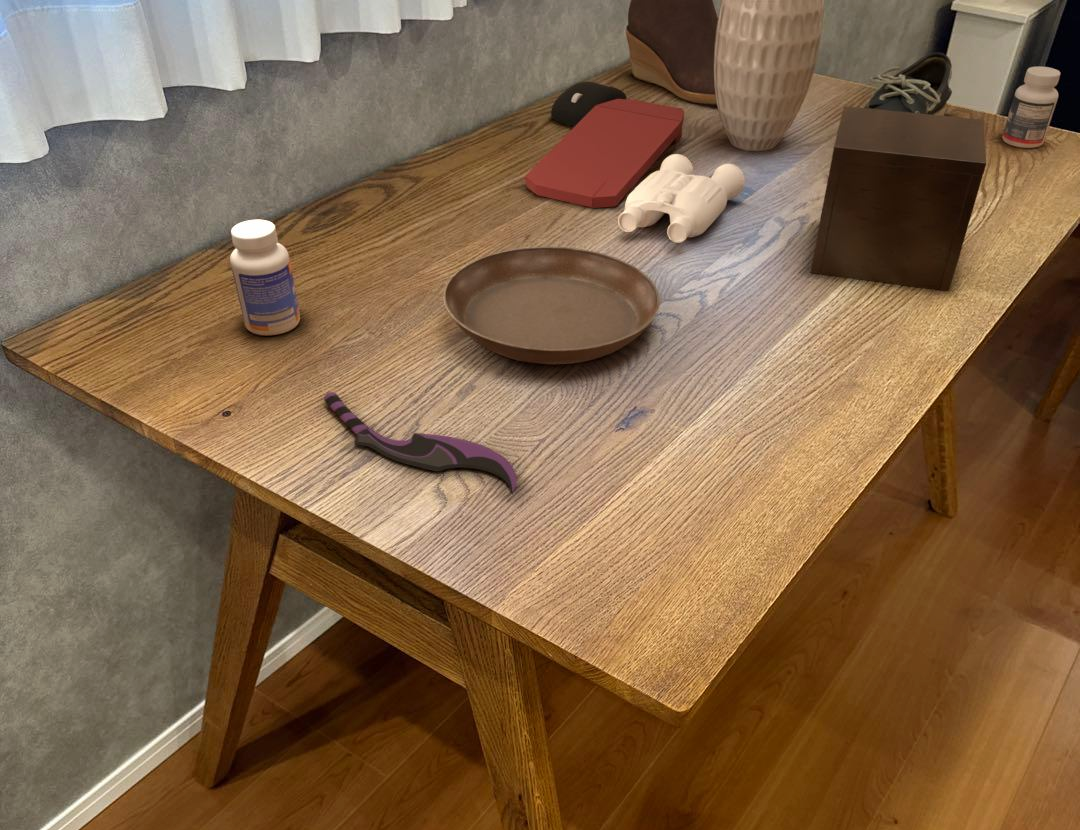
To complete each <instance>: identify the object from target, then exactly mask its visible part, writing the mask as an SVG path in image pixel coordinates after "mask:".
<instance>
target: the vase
mask: <svg viewBox="0 0 1080 830" xmlns="http://www.w3.org/2000/svg"><path fill="white" fill-rule="evenodd" d="M824 14H825V0H720V3H719V9H718V14H717V17H718V22H717V29H716V38H715V48H714V88H715V94H716V101H717V104H716V106H717V110H718V114H719V119H720V122H721V125H722V127H723V129H724V132H725V134H726V136H727V139H728V141H729V143H730V145H732V146H733V147H735V148H736V149H739V150H741V151H742V150H743V151H747V152H765V151H770V150H772V149H774V148H775V147H777V145H778V144H779V143H780V141H781V140H782V139H783V137H784V136H785V135H786V133H787V132H788V131H789V129H790V128H791V127H792V126H793V123H794V121H795V120H796V117H797V116H798V114H799V112H800V111H801V108H802V106H803V103H804V101H805V99H806V96H807V94H808V92H809V88H810V85H811V83H812V79H813V76H814V74H815V73H814V72H815V68H816V64H817V60H818V55H819V50H820V44H821V40H822V39H821V38H822V33H823V24H824Z"/></svg>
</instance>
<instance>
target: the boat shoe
mask: <svg viewBox="0 0 1080 830" xmlns="http://www.w3.org/2000/svg"><path fill="white" fill-rule="evenodd" d="M952 68H953V65H952V62H951V58H949V56H948V55H946V53H944V52H940V51H939V52H938V51H937V52H936V51H934V52H930V53H928V54H926V55H924V56H922V57H921V58H920V59H918V60H917V61H915V62H914V63H912V64H911V65H910V66H907V67H905V69H902V70H901V66H893V67H890V68H887V69H885V70H883V71H881V72H880V73H878V75H875V76H874V75H873V76H871V77H869V80H868V81H869V82H870V83H873V84H882V85H881V86H879V87H878V88H877V89H876V90H874V91H873V92H872V93H871V96H870V99H869V101H868V102H867V103H866V104H865V106H864V107H863V108H868V109H878V110H889V111H899V112H909V113H919V114H929V115H940V116H945V113H946V109H947V104H948V101H949V100H950V98H951V96H952V94H953V90H952V89H951V87H949V86H950V83H951V81H952V77H953V69H952ZM893 71H899V72H898V73H896V74H894V75H893V76H892V75H890V74H889V73H890V72H893Z"/></svg>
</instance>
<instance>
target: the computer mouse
mask: <svg viewBox="0 0 1080 830" xmlns="http://www.w3.org/2000/svg"><path fill="white" fill-rule="evenodd" d="M615 99H624V100H625V99H628V97H627V95H626V93H625V92H624V91H622V90H621V89H619V88H617V87H615V86H612V85H608V84H605V83H600V82H595V81H581V82H577V83H574V84H572V85H570V86H569V87H568V88H566V89H565V90H564V91H563V92H561V93H560V94H559V96H558V97H556V99H555V101H554V102H553V104H552V107H551V110H550V117H551V119H552V120H554V121H555V122H558V123H561V124H564V125H567V126H570V127H573V128H574V127H575V126H576V125H577V124H578V123H579V122H580V121H581V120H582V119H583V118H584V117H585V116H586V115H587V114H588V113H589V112H590V111H591V110H592V109H593V108H594V107H595V106H596V105H598V104H602V103H605V102H608V101H612V100H615Z"/></svg>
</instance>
